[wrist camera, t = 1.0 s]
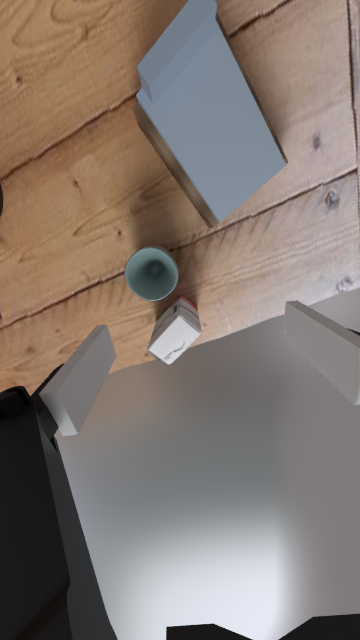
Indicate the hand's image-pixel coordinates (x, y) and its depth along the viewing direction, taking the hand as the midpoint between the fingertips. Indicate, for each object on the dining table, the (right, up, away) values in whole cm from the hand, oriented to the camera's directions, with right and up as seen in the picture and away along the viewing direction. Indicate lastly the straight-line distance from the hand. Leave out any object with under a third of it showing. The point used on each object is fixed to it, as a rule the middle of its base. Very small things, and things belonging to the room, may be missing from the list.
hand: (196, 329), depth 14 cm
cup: (-5, +11, +23) cm, 26 cm away
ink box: (-2, +2, +27) cm, 27 cm away
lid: (+3, +26, +12) cm, 28 cm away
